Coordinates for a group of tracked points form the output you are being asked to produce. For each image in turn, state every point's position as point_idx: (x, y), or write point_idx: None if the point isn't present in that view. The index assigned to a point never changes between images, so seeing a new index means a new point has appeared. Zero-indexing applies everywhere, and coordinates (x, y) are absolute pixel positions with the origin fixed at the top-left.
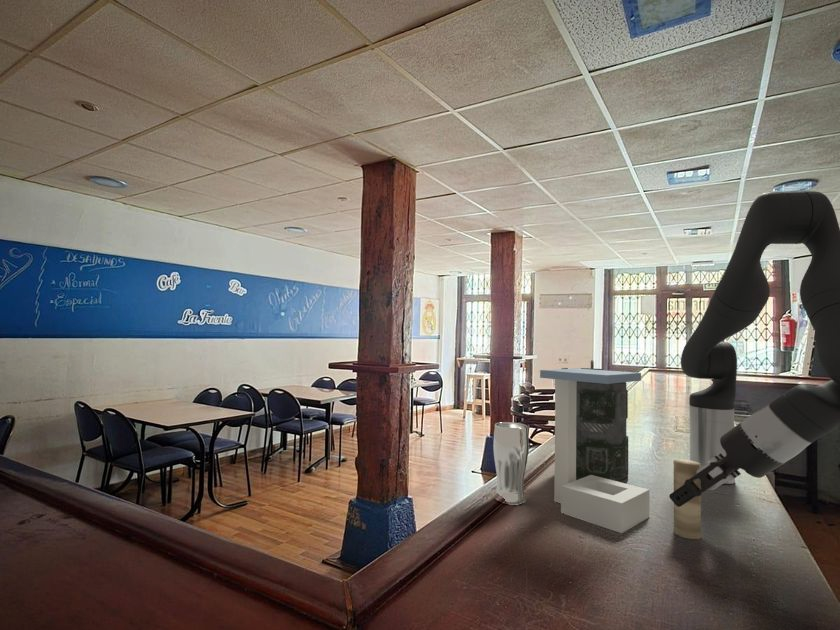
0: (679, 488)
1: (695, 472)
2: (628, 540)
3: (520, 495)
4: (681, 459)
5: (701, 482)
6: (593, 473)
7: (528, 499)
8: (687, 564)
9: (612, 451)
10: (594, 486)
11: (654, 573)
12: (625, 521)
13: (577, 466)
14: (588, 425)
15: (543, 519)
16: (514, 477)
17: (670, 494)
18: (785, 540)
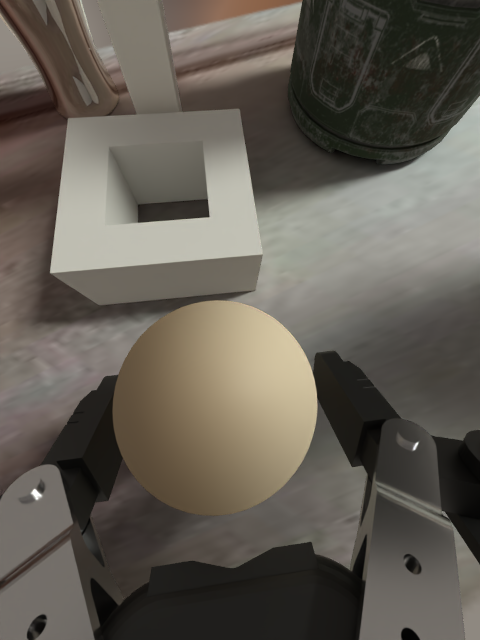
0: (81, 422)
1: (51, 545)
2: (72, 333)
3: (69, 99)
4: (278, 323)
5: (341, 411)
6: (316, 100)
7: (123, 113)
8: None
9: (401, 35)
10: (186, 154)
11: None
12: (106, 295)
13: (299, 59)
14: None
15: (43, 182)
16: (20, 39)
17: (102, 380)
18: None
